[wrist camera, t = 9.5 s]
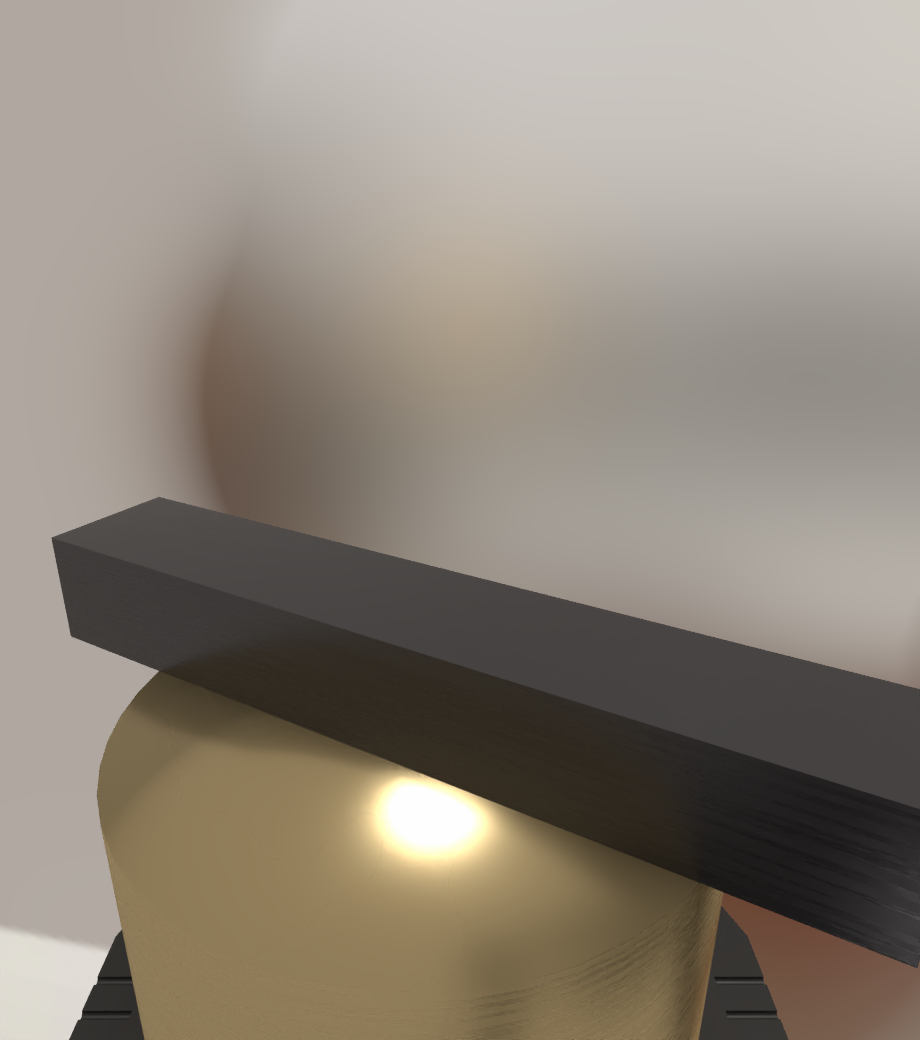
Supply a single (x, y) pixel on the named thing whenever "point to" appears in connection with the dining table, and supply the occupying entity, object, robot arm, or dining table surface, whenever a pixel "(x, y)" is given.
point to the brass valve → (461, 793)
